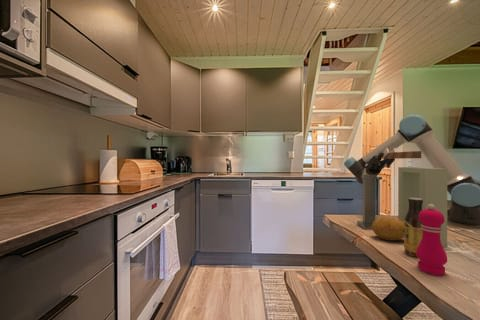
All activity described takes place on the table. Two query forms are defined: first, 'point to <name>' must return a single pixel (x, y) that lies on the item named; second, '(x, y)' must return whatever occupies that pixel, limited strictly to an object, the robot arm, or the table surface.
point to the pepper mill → (431, 242)
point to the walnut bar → (403, 155)
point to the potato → (388, 228)
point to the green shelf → (423, 191)
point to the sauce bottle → (413, 226)
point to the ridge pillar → (368, 201)
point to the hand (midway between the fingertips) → (391, 150)
